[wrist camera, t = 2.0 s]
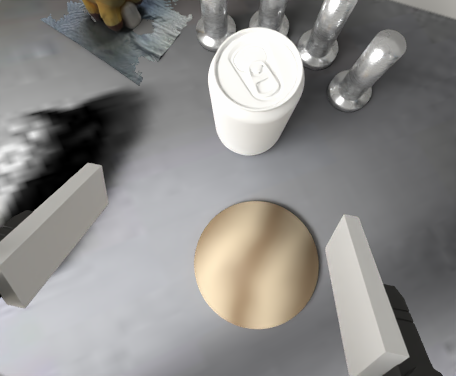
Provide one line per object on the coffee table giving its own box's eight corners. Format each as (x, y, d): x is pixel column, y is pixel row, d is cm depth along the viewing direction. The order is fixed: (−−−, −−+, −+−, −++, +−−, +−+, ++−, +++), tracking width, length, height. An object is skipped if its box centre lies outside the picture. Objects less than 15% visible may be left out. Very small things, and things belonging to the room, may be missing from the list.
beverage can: (263, 84, 33) (281, 6, 22) (292, 140, 32) (327, 90, 20) (205, 110, 33) (190, 45, 21) (232, 167, 32) (232, 133, 20)
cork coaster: (325, 214, 31) (327, 214, 30) (306, 339, 29) (307, 342, 29) (209, 190, 32) (209, 190, 31) (182, 311, 30) (181, 313, 29)
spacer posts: (376, 32, 34) (427, -36, 25) (364, 115, 33) (414, 74, 24) (204, 2, 35) (195, -73, 26) (185, 82, 34) (168, 30, 25)
